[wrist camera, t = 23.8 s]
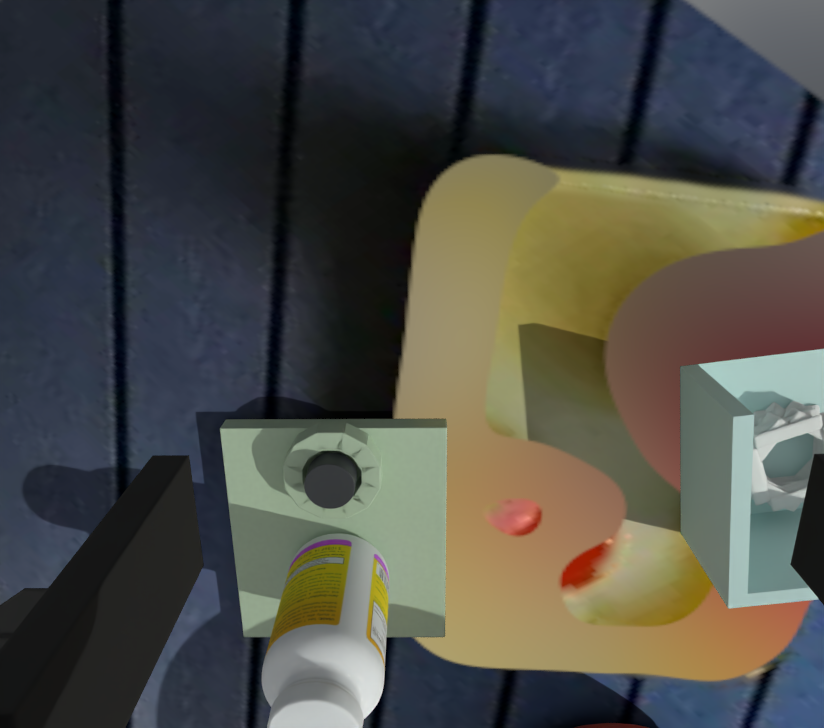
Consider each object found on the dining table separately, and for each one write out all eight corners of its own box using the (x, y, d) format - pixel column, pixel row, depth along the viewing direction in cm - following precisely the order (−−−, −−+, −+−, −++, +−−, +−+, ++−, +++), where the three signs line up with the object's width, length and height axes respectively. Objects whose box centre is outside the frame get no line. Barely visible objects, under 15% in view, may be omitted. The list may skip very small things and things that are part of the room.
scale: (224, 412, 43) (211, 433, 40) (446, 411, 43) (448, 432, 40) (248, 623, 49) (237, 654, 46) (444, 623, 48) (445, 654, 46)
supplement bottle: (271, 580, 46) (219, 747, 34) (325, 511, 44) (290, 661, 32) (354, 627, 47) (332, 804, 35) (410, 562, 45) (407, 725, 33)
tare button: (306, 452, 41) (302, 464, 40) (356, 451, 41) (353, 464, 40) (309, 495, 42) (305, 509, 41) (357, 495, 42) (355, 509, 41)
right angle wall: (864, 512, 45) (947, 586, 38) (680, 532, 46) (728, 608, 39) (881, 341, 41) (978, 388, 34) (680, 366, 42) (733, 416, 35)
